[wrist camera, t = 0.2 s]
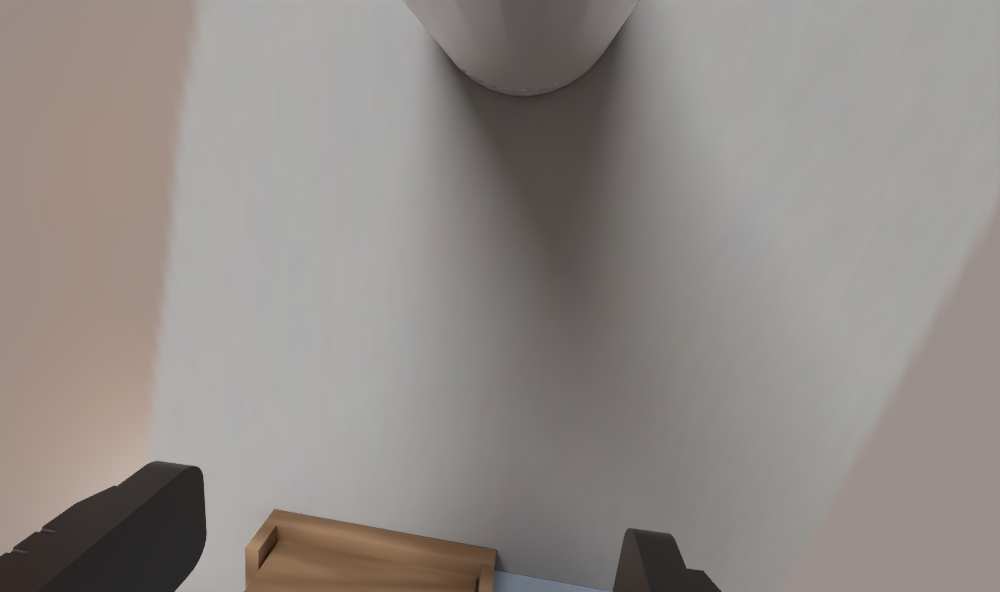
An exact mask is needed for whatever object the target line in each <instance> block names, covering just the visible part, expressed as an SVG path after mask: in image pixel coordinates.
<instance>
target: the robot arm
mask: <svg viewBox="0 0 1000 592" xmlns="http://www.w3.org/2000/svg"><path fill="white" fill-rule="evenodd" d="M403 1H404V2H405V4H406V5H407V6H408V7H409V8H410V10H411V11H412V12H413V13H414V15H415V16H416V17H417V18H418V19H419V21H420V22H421V23H422V24H423V26H424V27H425V28H426V29H427V30H428V32H429V33H430V34H431V35H432V37H433V38H434V39H435V40H436V42H437V43H438V44H439V45H440V46H441V47H442V49H443V50H444V51H445V52H446V54H447V55H448V56H449V57H450V58H451V60H452V61H453V62H454V63H455V65H456V66H457V67H458V68H459V69H461V70H462V71H463V72H464V73H465V74H466V75H467V76H469V77H470V78H471V79H472V80H474V81H475V82H477V83H479V84H481V85H483V86H485V87H486V88H488V89H490V90H493V91H497V92H501V93H504V94H508V95H519V96H533V95H538V94H543V93H549V92H552V91H554V90H556V89H559V88H561V87H563V86H566V85H568V84H570V83H571V82H573V81H574V80H576V79H577V78H578V77H580V76H581V75H583V74H584V73H586V72H587V71H588V70H589V69H590V68H591V67H592V66H593V65H594V63H595V62H596V61H597V60H598V59H599V58H600V57H601V56H602V55H603V53H604V52H605V50H606V49H607V47H608V46H609V44H610V43H611V41H612V40H613V38H614V37H615V35H616V34H617V32H618V31H619V30H620V28H621V27H622V25H623V24H624V23H625V21H626V20H627V18H628V16H629V15H630V13H631V12H632V10H633V9H634V7H635V6H636V4H637V3H638V1H639V0H403ZM205 542H206V516H205V498H204V481H203V474H202V471H201V469H200V468H198V467H196V466H190V465H183V464H176V463H168V462H161V461H154V462H151V463H149V464H147V465H146V466H144V467H143V468H141V469H140V470H139V471H137V472H136V473H134V474H133V475H132V476H130V477H129V478H128V479H126V480H125V481H124V482H122V483H121V484H119V485H118V486H113V487H110V488H108V489H106V490H104V491H102V492H99V493H97V494H95V495H93V496H91V497H89V498H87V499H84V500H82V501H80V502H78V503H76V504H74V505H73V506H71V507H70V508H69V509H67V510H66V511H65V512H63V513H62V514H60V515H59V516H58V517H56V518H54V519H53V520H52V521H50V522H49V523H47V524H46V525H44V526H43V528H42V530H41V531H40V532H35V533H33V534H32V535H30V536H29V537H27V538H26V539H25V540H23V541H22V542H20V543H19V544H18V545H16V546H15V547H14V548H13V551H12V552H11V553H5V554H3V555H2V556H0V592H174V591H175V590H176V589H177V588H178V587H179V586H180V585H181V583H182V582H183V581H184V580H185V579H186V578H187V577H188V575H189V574H190V573H191V572H192V570H193V569H194V568H195V566H196V564H197V563H198V561H199V559H200V557H201V555H202V552H203V549H204V546H205ZM613 592H721V591H720V590H719V589H718V587H717V586H716V585H715V584H714V583H713V582H712V581H711V579H710V578H709V577H708V576H707V575H706V574H705V573H704V571H700V570H693V569H686V566H685V564H684V561H683V559H682V556H681V554H680V551H679V549H678V546H677V544H676V541H675V539H674V538H673V536H672V535H671V534H668V533H661V532H653V531H646V530H639V529H632V528H628V529H627V531H626V533H625V536H624V540H623V545H622V550H621V554H620V559H619V564H618V569H617V573H616V578H615V583H614V588H613Z"/></svg>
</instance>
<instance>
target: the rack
mask: <svg viewBox="0 0 1000 592" xmlns="http://www.w3.org/2000/svg"><path fill="white" fill-rule="evenodd" d="M495 558H496V550H493V549H488V548H483V547H477V546H472V545H466V544H461V543H455V542H450V541H444V540H439V539H433V538H428V537H422V536H417V535H411V534H406V533H401V532H395V531H390V530H384V529H379V528H373V527H368V526H362V525H357V524H351V523H346V522H340V521H335V520H330V519H324V518H319V517H313V516H308V515H302V514H297V513H291V512H286V511H280V510H275V509H274V510H273V512H272V513H271V514H270V516H269V517H268V519H267V520H266V521H265V523H264V524H263V525H262V527H261V528H260V529H259V531H258V532H257V533H256V535H255V536H254V537H253V539H252V540H251V541H250V543H249V544H248V545H247V547H246V548H245V559H246V590H245V591H244V592H492V589H493V579H494V568H495Z"/></svg>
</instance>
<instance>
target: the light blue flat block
mask: <svg viewBox="0 0 1000 592" xmlns="http://www.w3.org/2000/svg"><path fill="white" fill-rule="evenodd" d="M492 592H610V591H604V590H599V589H593V588H588V587H583V586H577V585H572V584H566V583H561V582H555V581H550V580H545V579H539V578H534V577H528V576H523V575H517V574H512V573H506V572H501V571H496V570H494V579H493V589H492Z"/></svg>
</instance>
